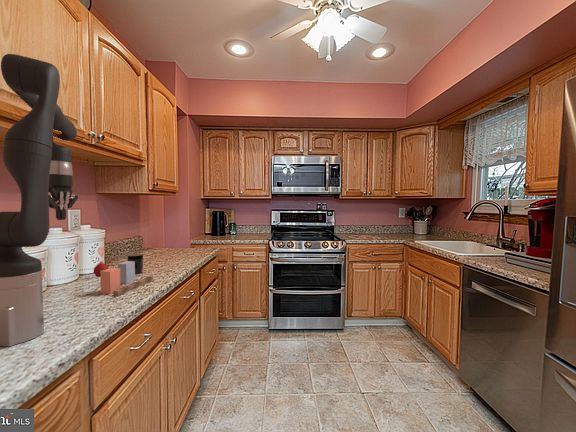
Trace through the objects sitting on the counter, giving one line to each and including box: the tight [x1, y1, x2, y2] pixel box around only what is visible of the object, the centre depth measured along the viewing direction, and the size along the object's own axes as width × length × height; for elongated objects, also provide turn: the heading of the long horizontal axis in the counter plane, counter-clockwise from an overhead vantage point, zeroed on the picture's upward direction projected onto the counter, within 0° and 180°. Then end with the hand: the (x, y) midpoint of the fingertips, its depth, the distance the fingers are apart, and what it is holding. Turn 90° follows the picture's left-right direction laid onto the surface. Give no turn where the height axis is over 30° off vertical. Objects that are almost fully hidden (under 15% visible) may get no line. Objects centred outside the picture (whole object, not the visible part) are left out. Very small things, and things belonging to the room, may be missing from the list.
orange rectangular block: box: [99, 267, 122, 295], centre depth 102 cm, size 5×4×8 cm
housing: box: [112, 276, 154, 297], centre depth 108 cm, size 20×14×3 cm
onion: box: [93, 260, 110, 277], centre depth 124 cm, size 6×6×8 cm
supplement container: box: [126, 253, 144, 276], centre depth 129 cm, size 7×7×10 cm
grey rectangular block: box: [117, 260, 136, 285], centre depth 114 cm, size 5×4×8 cm
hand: (61, 219), depth 101 cm, fingers closed
